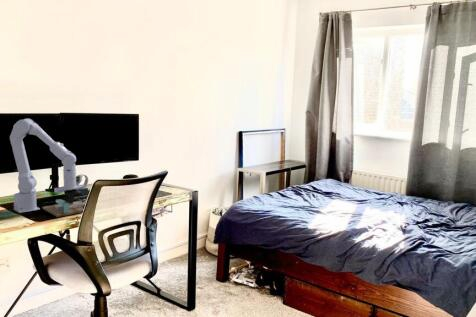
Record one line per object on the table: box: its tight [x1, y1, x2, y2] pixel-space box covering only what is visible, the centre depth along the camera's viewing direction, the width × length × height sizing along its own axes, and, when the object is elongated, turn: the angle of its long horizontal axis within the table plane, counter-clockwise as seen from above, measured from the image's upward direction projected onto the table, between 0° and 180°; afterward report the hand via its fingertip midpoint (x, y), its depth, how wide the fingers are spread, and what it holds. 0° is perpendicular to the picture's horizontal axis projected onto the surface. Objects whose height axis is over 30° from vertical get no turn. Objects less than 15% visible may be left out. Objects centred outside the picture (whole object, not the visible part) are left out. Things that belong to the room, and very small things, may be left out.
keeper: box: [55, 198, 69, 213], centre depth 200 cm, size 2×9×5 cm, turn 47°
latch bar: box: [55, 198, 87, 211], centre depth 205 cm, size 16×4×3 cm, turn 139°
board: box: [41, 199, 84, 218], centre depth 207 cm, size 21×17×1 cm
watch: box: [76, 173, 89, 196], centre depth 236 cm, size 6×8×11 cm
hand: (70, 204), depth 207 cm, fingers closed, pressing on latch bar
